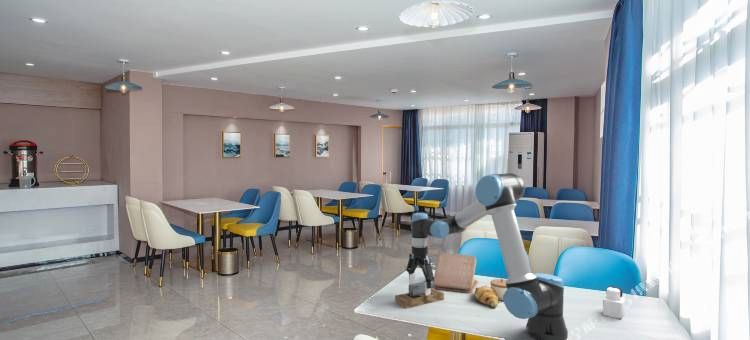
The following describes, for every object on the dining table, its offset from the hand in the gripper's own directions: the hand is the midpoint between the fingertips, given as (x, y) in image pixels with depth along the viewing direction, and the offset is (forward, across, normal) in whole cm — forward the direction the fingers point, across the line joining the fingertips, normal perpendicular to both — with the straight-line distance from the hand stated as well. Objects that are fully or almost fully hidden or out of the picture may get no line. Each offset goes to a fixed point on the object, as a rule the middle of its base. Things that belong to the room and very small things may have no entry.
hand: (419, 291), depth 207 cm
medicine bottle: (+5, -57, -62) cm, 84 cm away
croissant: (+5, -16, -26) cm, 31 cm away
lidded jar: (+5, -17, -36) cm, 40 cm away
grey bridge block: (+5, 0, 0) cm, 5 cm away
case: (+5, +9, -30) cm, 32 cm away
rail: (+5, 0, 0) cm, 5 cm away
